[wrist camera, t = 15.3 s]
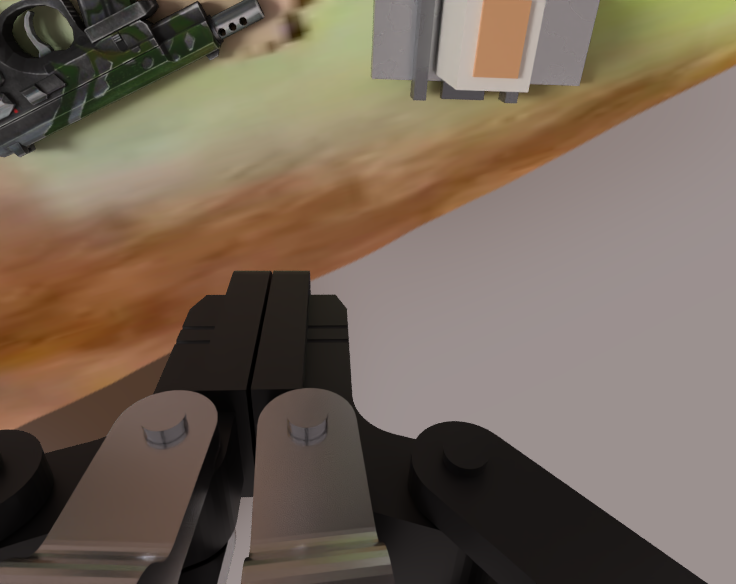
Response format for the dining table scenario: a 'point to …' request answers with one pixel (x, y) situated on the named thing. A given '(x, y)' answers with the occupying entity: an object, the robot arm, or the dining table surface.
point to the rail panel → (421, 37)
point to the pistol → (98, 60)
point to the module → (489, 43)
